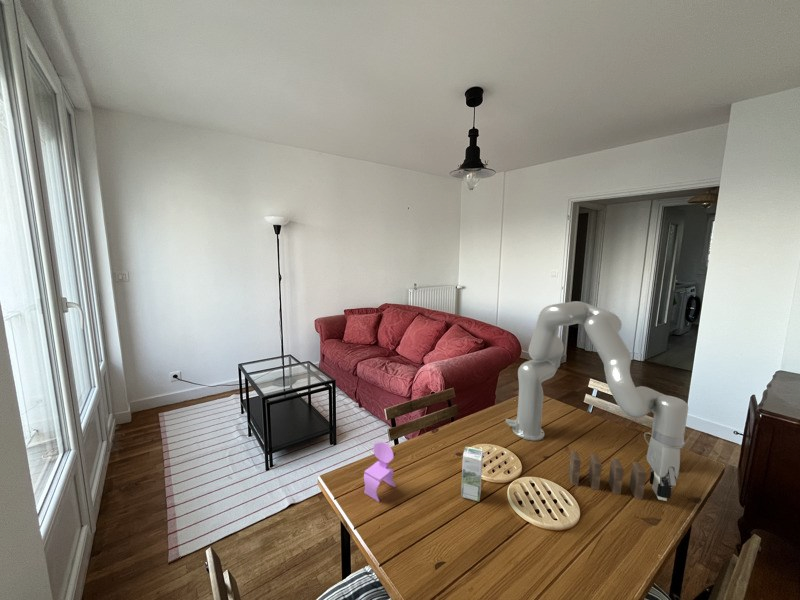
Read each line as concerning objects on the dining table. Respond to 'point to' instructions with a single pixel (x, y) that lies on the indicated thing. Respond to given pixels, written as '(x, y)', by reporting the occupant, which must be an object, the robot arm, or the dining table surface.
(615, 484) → the tile
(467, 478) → the syrup box
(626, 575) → the dining table surface
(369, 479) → the toy chair
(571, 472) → the tile
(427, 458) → the dining table surface
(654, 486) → the white end domino
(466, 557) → the dining table surface
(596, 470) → the tile
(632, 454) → the dining table surface
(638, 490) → the tile
